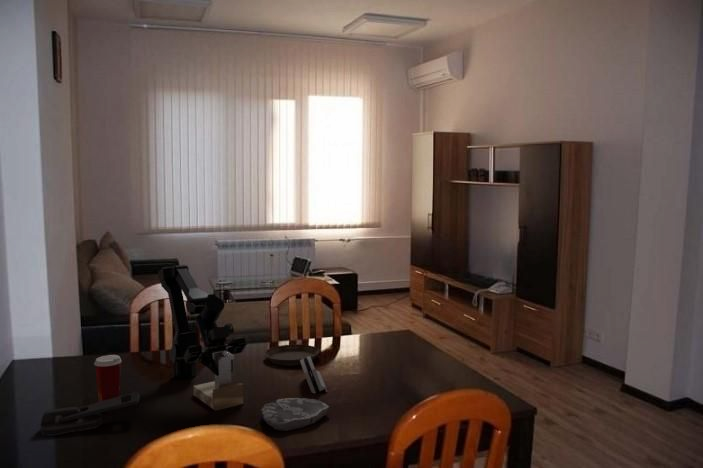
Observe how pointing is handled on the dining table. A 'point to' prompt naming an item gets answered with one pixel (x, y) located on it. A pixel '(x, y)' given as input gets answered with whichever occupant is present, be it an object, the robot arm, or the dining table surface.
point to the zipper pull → (82, 415)
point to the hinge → (315, 376)
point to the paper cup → (108, 376)
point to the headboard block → (219, 395)
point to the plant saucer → (291, 354)
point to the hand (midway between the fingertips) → (224, 373)
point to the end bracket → (223, 369)
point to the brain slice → (293, 413)
